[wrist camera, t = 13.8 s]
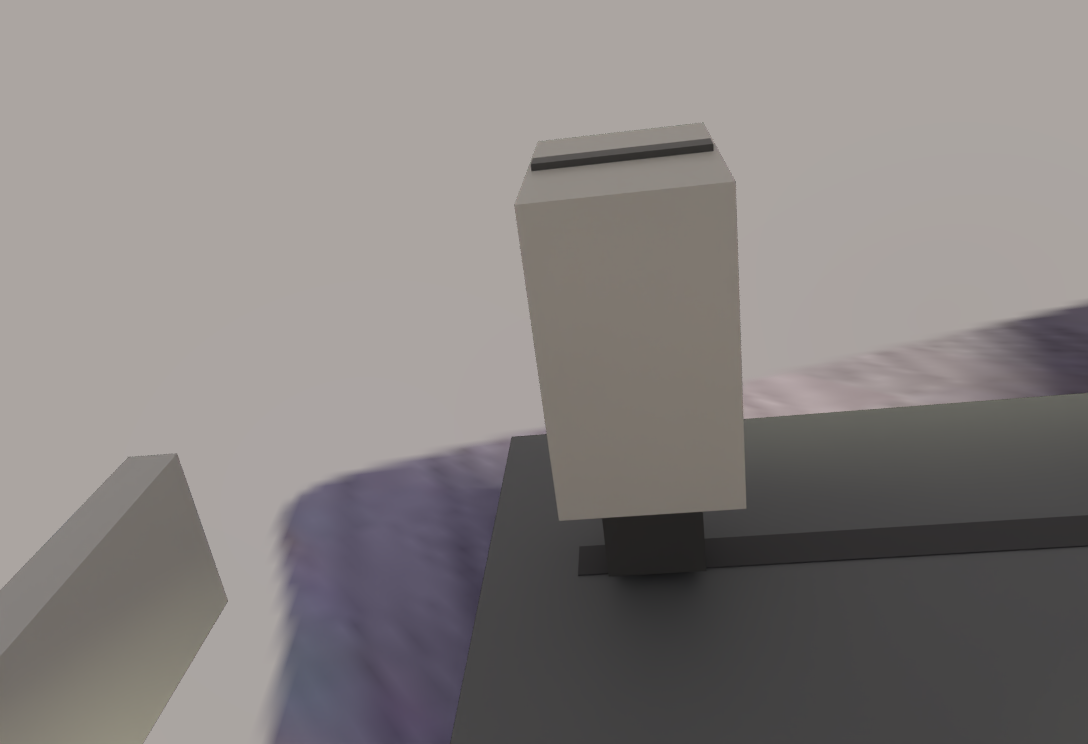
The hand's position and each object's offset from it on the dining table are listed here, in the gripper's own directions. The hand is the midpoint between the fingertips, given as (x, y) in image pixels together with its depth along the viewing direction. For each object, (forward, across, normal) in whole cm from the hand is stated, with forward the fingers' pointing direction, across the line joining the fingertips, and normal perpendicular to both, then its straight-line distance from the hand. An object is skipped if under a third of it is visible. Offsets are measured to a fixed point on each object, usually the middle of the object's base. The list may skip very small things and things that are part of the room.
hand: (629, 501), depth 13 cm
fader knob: (+8, 0, -7) cm, 11 cm away
